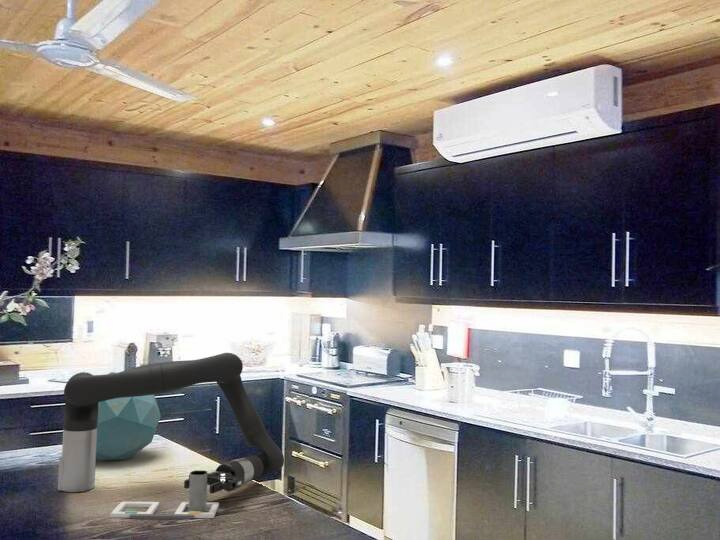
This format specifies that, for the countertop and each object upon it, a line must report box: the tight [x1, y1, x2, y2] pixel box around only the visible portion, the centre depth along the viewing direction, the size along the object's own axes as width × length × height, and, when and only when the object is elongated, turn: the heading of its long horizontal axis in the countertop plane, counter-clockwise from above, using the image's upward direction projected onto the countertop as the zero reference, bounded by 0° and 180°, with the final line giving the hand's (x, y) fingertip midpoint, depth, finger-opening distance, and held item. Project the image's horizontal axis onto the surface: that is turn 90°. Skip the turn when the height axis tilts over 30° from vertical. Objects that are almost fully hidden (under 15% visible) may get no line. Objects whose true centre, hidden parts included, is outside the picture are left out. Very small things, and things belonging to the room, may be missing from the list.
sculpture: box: [96, 371, 161, 462], centre depth 233 cm, size 29×29×30 cm
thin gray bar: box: [128, 514, 195, 520], centre depth 172 cm, size 16×1×1 cm, turn 94°
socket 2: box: [173, 501, 220, 519], centre depth 178 cm, size 10×10×1 cm
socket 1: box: [109, 501, 160, 519], centre depth 177 cm, size 10×10×1 cm
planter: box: [188, 469, 209, 512], centre depth 178 cm, size 4×4×10 cm
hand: (197, 487), depth 178 cm, fingers open, 8 cm apart
